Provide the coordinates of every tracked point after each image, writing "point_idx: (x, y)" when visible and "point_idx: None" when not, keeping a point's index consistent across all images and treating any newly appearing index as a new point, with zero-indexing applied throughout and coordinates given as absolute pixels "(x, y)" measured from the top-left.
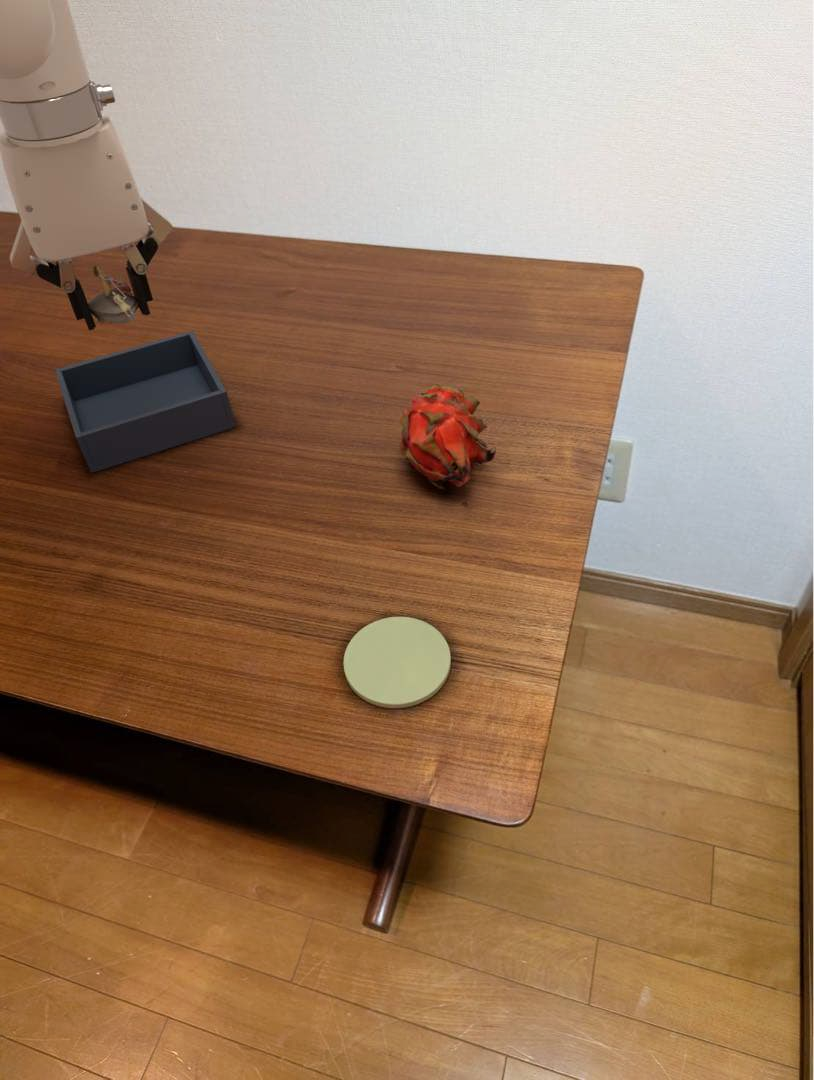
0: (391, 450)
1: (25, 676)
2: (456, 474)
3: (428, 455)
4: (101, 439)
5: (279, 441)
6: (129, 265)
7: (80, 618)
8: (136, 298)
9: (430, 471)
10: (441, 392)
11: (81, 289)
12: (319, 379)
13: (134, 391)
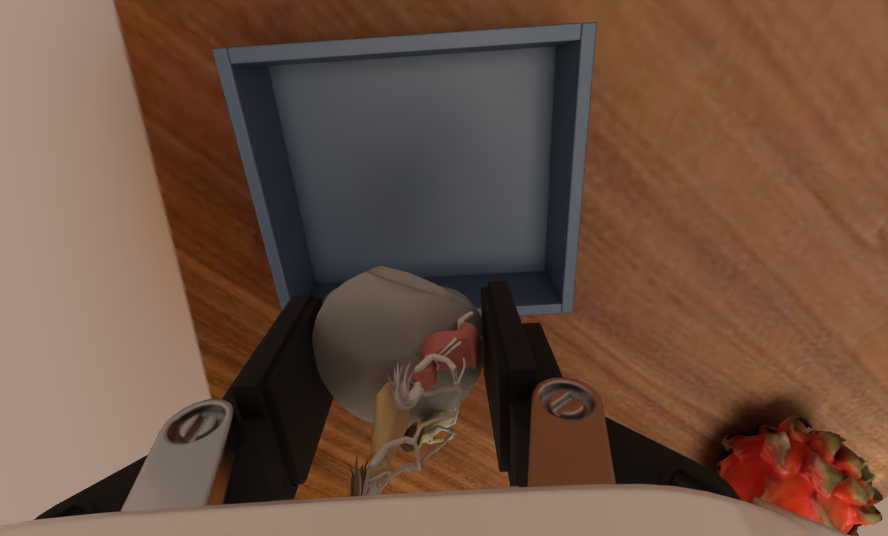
0: (718, 403)
1: None
2: None
3: None
4: None
5: (597, 331)
6: (518, 463)
7: (304, 488)
8: (486, 356)
9: None
10: (855, 516)
11: (293, 473)
12: (743, 205)
13: (401, 91)
